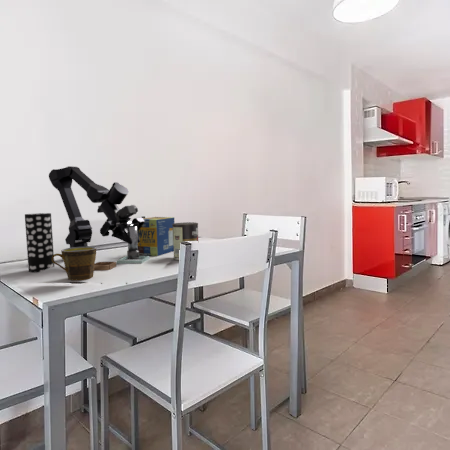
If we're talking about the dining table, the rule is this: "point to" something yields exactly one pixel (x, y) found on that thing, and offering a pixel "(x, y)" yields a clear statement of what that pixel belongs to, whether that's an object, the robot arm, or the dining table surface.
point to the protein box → (156, 236)
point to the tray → (123, 260)
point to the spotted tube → (39, 241)
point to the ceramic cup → (78, 263)
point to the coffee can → (183, 235)
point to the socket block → (104, 265)
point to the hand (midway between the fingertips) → (135, 242)
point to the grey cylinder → (133, 244)
